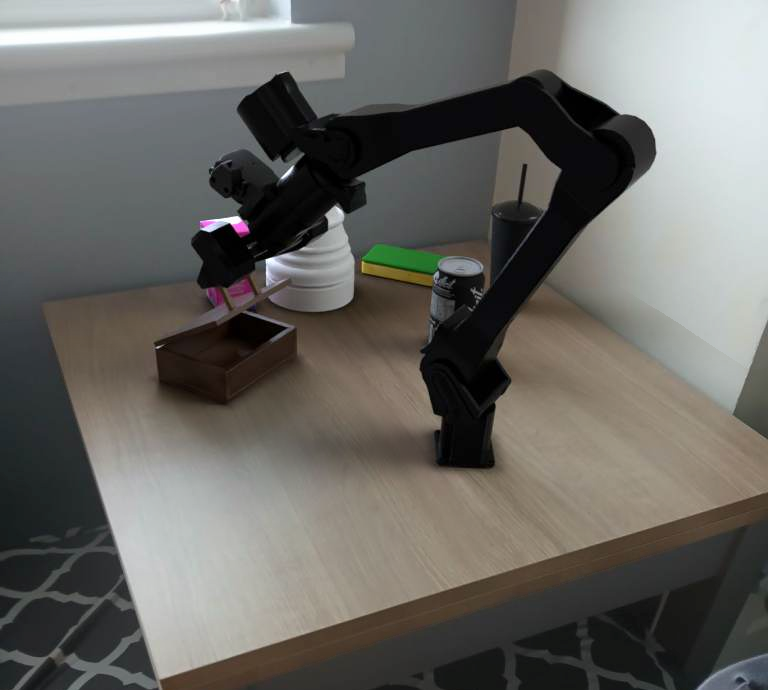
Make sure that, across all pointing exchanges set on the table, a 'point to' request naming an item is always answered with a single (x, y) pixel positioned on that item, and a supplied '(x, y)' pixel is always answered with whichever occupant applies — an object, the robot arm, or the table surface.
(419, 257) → the dish sponge
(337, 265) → the honey pot
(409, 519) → the table surface
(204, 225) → the supplement box
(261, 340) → the tea box
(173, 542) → the table surface
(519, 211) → the drinking cup
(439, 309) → the beverage can
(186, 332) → the lid
